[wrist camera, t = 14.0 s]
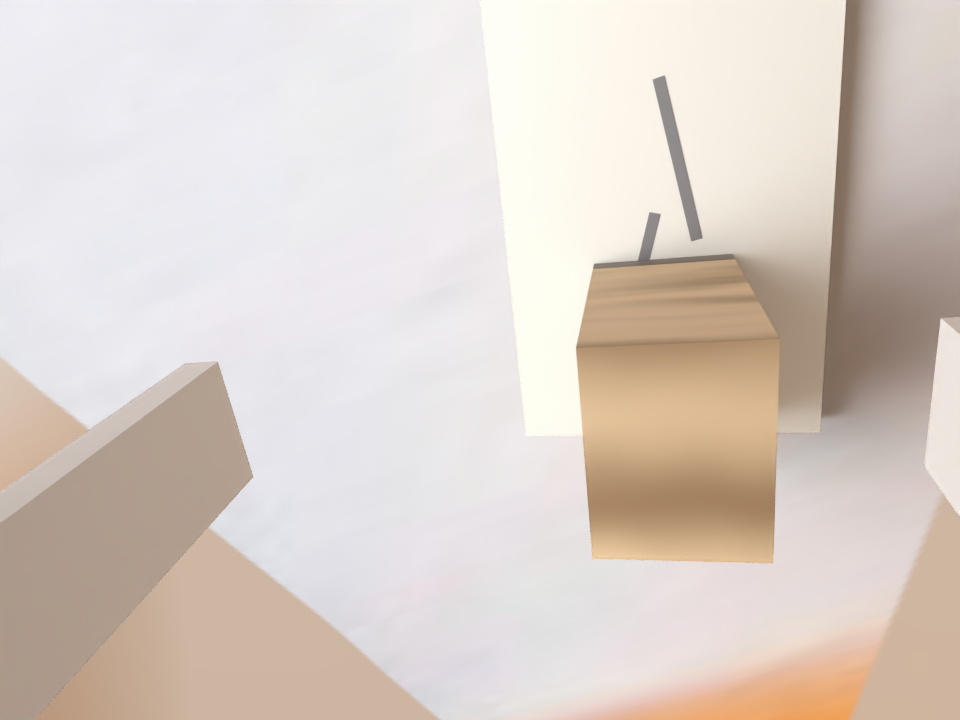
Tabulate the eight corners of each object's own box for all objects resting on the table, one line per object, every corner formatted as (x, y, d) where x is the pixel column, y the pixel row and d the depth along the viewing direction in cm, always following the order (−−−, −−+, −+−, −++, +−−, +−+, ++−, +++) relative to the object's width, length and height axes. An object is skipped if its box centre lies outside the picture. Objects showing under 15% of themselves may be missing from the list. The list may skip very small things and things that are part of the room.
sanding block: (593, 263, 32) (575, 348, 22) (732, 253, 31) (779, 339, 21) (604, 420, 35) (592, 558, 25) (731, 417, 33) (773, 563, 23)
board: (476, -96, 29) (468, -105, 28) (845, -167, 26) (856, -181, 24) (529, 422, 37) (526, 436, 36) (812, 418, 34) (820, 432, 33)
